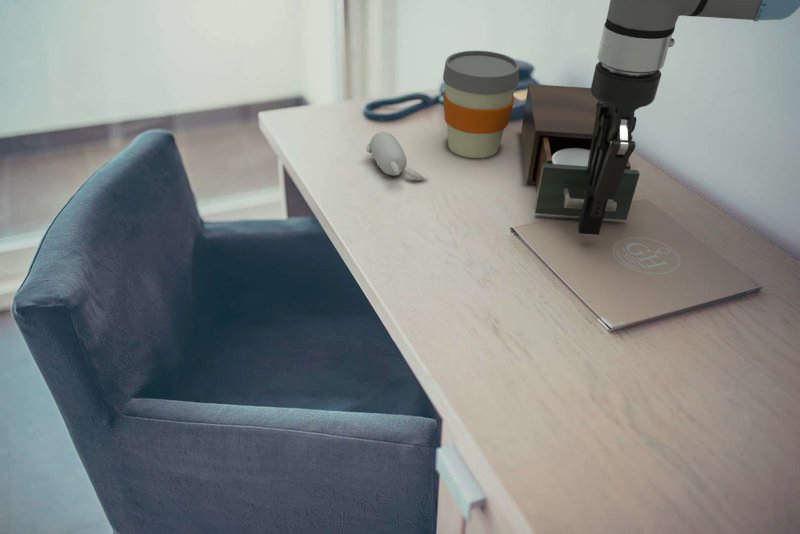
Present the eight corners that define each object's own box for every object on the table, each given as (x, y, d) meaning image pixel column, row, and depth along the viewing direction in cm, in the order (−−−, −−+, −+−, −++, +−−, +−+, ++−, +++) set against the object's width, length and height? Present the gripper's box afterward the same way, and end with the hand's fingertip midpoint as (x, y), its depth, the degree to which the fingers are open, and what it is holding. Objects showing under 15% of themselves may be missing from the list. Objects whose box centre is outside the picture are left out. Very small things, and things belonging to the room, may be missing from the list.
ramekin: (606, 204, 96) (613, 178, 93) (546, 196, 97) (551, 171, 95) (603, 175, 103) (609, 151, 100) (547, 168, 104) (552, 144, 102)
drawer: (631, 236, 91) (646, 189, 87) (537, 229, 92) (546, 182, 88) (607, 163, 109) (618, 120, 104) (528, 157, 109) (535, 115, 105)
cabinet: (617, 191, 103) (632, 136, 97) (526, 184, 104) (535, 130, 98) (600, 139, 118) (612, 89, 112) (520, 133, 119) (528, 83, 113)
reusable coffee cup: (522, 146, 115) (536, 64, 105) (479, 170, 107) (489, 84, 98) (467, 124, 121) (475, 44, 112) (423, 145, 114) (428, 62, 105)
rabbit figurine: (357, 139, 107) (381, 183, 100) (381, 119, 106) (406, 162, 99) (378, 158, 112) (402, 202, 105) (401, 139, 111) (427, 182, 103)
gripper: (675, 88, 70) (623, 261, 84) (650, 48, 80) (607, 208, 95) (605, 84, 70) (566, 256, 85) (589, 45, 81) (556, 204, 95)
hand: (588, 231), depth 90 cm, fingers closed
